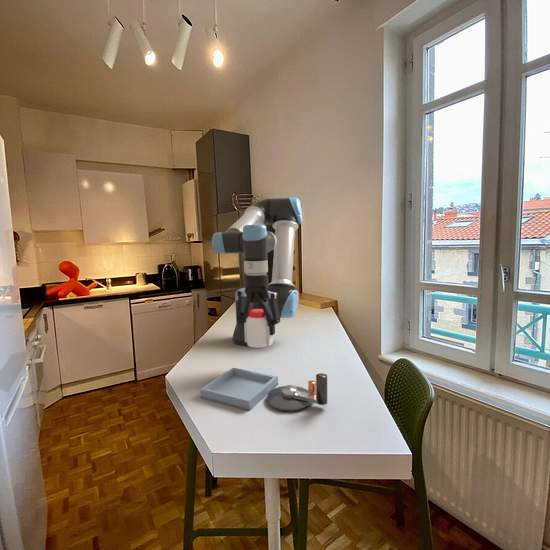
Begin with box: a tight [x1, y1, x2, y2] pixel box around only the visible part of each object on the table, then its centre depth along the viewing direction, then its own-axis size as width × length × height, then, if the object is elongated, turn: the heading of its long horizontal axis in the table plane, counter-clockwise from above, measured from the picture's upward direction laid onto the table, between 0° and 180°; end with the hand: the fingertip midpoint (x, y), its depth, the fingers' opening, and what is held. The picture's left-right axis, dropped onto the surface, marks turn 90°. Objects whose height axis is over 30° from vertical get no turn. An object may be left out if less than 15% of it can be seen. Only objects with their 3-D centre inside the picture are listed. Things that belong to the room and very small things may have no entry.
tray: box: [199, 367, 279, 412], centre depth 90 cm, size 16×16×2 cm
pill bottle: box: [246, 309, 269, 349], centre depth 102 cm, size 8×8×11 cm
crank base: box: [266, 380, 316, 413], centre depth 84 cm, size 13×12×5 cm
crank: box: [281, 372, 328, 406], centre depth 82 cm, size 12×4×7 cm, turn 63°
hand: (258, 342), depth 103 cm, fingers closed on pill bottle, 8 cm apart
